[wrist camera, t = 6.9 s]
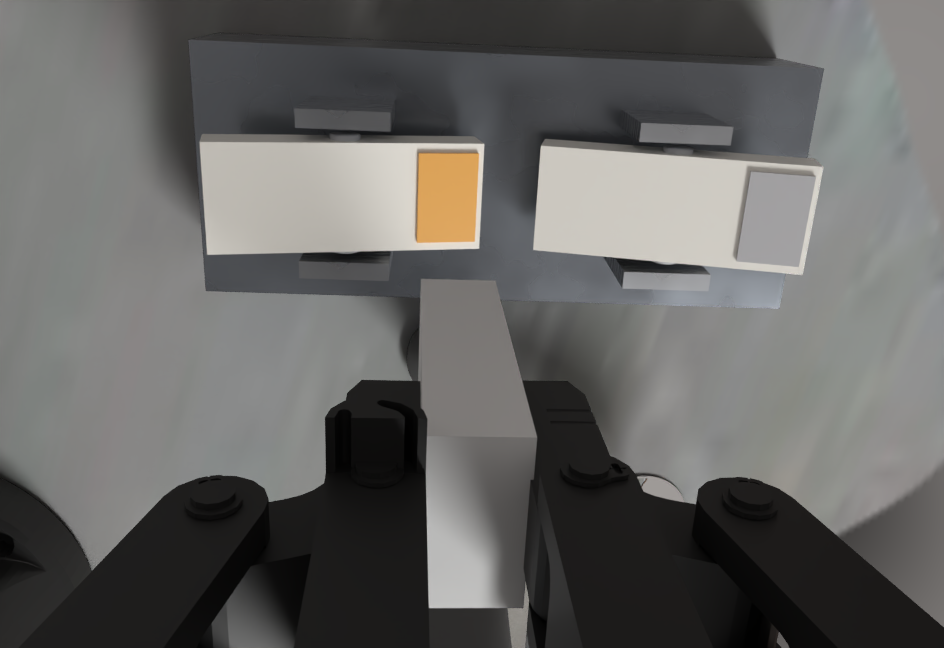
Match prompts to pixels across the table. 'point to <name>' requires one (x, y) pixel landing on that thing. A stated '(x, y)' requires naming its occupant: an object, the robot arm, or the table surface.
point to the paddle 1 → (340, 192)
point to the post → (462, 629)
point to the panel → (498, 149)
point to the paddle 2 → (676, 205)
